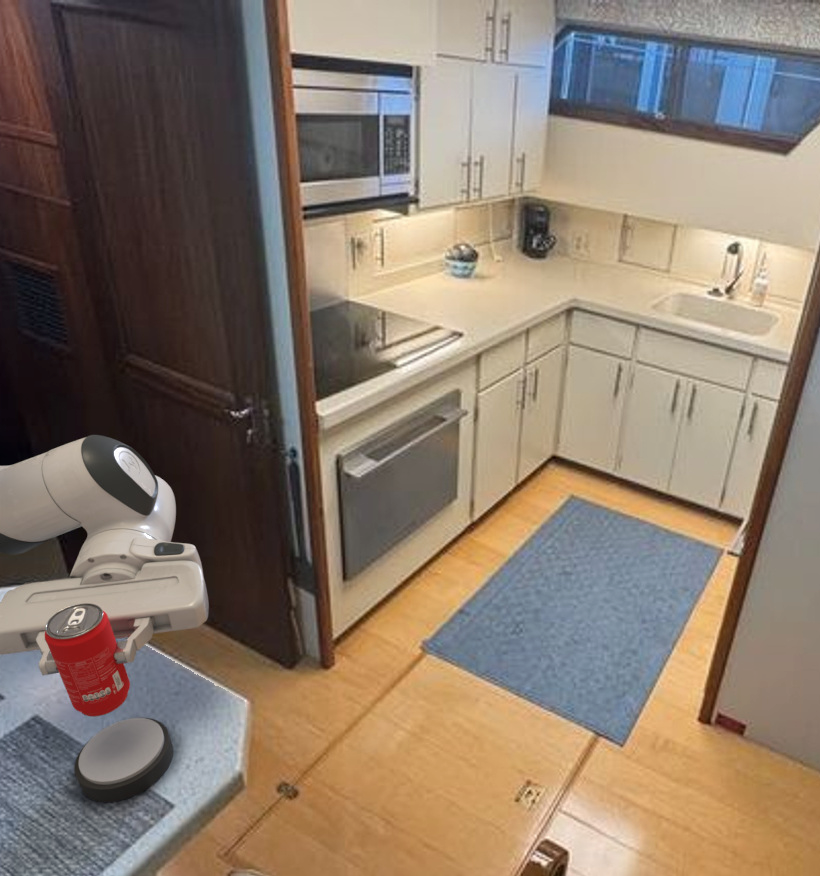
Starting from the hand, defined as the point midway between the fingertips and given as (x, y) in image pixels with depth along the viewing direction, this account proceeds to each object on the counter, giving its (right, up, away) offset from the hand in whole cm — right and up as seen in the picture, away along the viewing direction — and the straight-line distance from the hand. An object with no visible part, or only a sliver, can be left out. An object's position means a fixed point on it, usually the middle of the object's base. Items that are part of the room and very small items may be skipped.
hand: (87, 664), depth 71 cm
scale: (-2, -14, +8) cm, 17 cm away
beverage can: (-1, -5, +4) cm, 7 cm away
